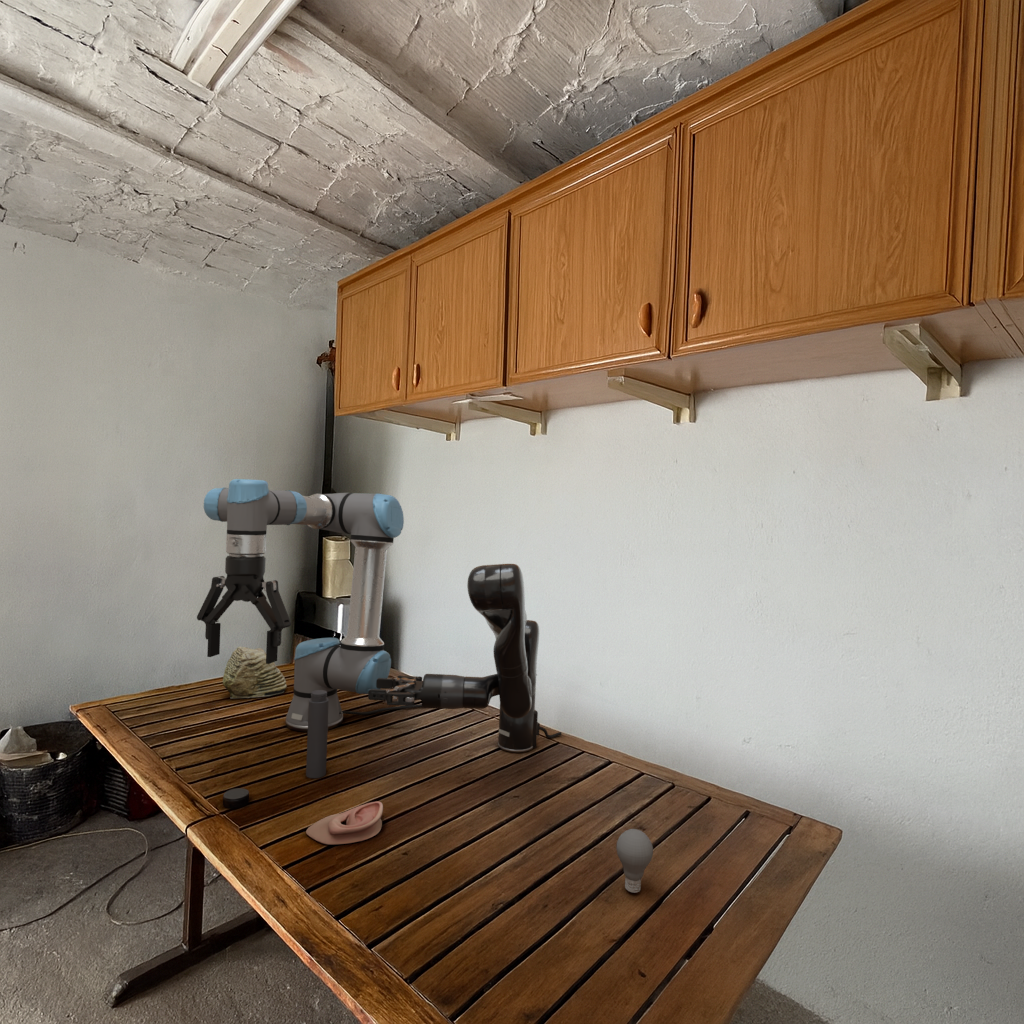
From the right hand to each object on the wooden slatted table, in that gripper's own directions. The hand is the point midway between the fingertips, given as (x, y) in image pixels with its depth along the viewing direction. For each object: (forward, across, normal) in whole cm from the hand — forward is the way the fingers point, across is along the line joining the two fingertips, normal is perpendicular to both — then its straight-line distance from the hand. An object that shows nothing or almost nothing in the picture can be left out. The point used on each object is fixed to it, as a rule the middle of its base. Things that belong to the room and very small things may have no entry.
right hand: (372, 688), depth 144 cm
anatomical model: (0, +23, +20) cm, 31 cm away
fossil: (+48, -54, +20) cm, 75 cm away
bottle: (+12, 0, +20) cm, 24 cm away
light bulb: (-52, +39, +20) cm, 68 cm away
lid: (+24, +14, +19) cm, 34 cm away
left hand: (+24, +14, -9) cm, 29 cm away
